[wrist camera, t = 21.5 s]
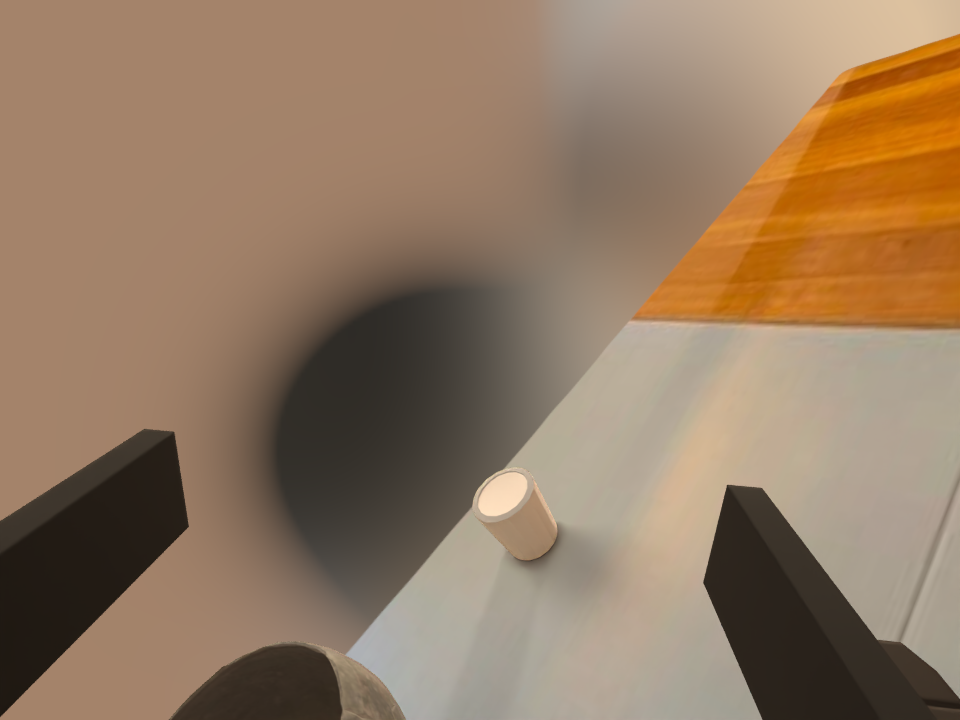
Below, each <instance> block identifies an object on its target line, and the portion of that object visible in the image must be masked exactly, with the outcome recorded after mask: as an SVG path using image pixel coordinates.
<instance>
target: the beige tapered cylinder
mask: <svg viewBox="0 0 960 720" xmlns="http://www.w3.org/2000/svg"><path fill="white" fill-rule="evenodd" d="M472 510H473V512H474V514H475V516H476V518H477V519H478V520H479V521H480V522H481V523H482V524H483V525H484V526H485V527H486V528H487V529H488V530H489V531H490V532H491V533H492V534H493V535H494V537H495V538H496V539H497V540H498V541H499V542H500V543H501V544H502V545H503V546H504V547H505V548H506V549H507V550H508V551H509V552H510V553H511V554H512V555H513V556H514V557H516V558H517V559H519V560H527V561H529V560H533V559H536V558H539V557H540V556H542V555H543V554H545V553H546V552H547V551H548V550H549V549H550V548H551V547H552V545H553V544H554V543H555V540H556V537H557V534H558V532H557V524H556V522H555V520H554V518H553V516H552V514H551V512H550V510H549V508H548V506H547V504H546V502H545V500H544V498H543V496H542V494H541V492H540V490H539V488H538V486H537V484H536V482H535V480H534V478H533V477H532V475H531V474H530V473H529V471H527V470H525V469H522V468H520V467H517V468H507V469H504V470H502V471H499V472H497V473H495V474H494V475H493V476H491V477H490V478H488V479H487V480H486V481H485V482H484V483H483V484H482V485H481V486H480V488H479V489H478V491H477V493H476V495H475V497H474V499H473V508H472Z"/></svg>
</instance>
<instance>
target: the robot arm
mask: <svg viewBox="0 0 960 720" xmlns="http://www.w3.org/2000/svg"><path fill="white" fill-rule="evenodd" d="M188 527H189V525H188V519H187V512H186V506H185V499H184V492H183V486H182V479H181V473H180V466H179V460H178V453H177V447H176V440H175V434H174V432H170V431H160V430H149V429H144V430H142V431H141V432H139V433H137V434H136V435H134V436H133V437H131V438H130V439H128V440H126V441H125V442H123V443H122V444H120V445H119V446H117V447H115V448H114V449H112V450H111V451H109V452H108V453H106V454H105V455H103V456H101V457H100V458H99V459H97V460H95V461H94V462H92V463H90V464H89V465H87V466H86V467H84V468H83V469H81V470H80V471H78V472H76V473H75V474H73V475H72V476H70V477H69V478H67V479H65V480H64V481H62V482H61V483H59V484H58V485H56V486H55V487H53V488H51V489H50V490H48V491H47V492H45V493H44V494H42V495H41V496H39V497H37V498H36V499H34V500H33V501H31V502H29V503H28V504H26V505H25V506H23V507H22V508H20V509H19V510H17V511H15V512H14V513H12V514H11V515H10V516H8V517H6V518H4V519H3V520H1V521H0V717H1V715H3V714H4V713H5V712H6V711H7V710H8V708H9V707H11V706H12V705H13V704H14V703H15V701H16V700H17V699H18V698H19V697H20V696H21V695H22V694H23V693H24V692H25V691H26V690H27V689H28V688H29V687H30V686H31V685H32V684H33V683H34V682H35V681H36V680H37V679H38V678H39V677H40V676H41V675H42V674H43V673H44V672H45V671H46V670H47V669H48V668H49V667H50V666H51V665H52V664H53V663H54V662H55V661H56V660H57V659H58V658H59V657H60V656H61V655H62V654H63V653H64V652H65V651H66V650H67V649H68V648H69V647H70V646H71V645H72V644H73V643H74V642H75V641H76V640H77V639H78V638H79V637H80V636H81V635H82V634H83V633H84V632H85V631H86V630H87V629H88V628H89V627H90V626H91V625H92V624H93V623H94V622H95V621H96V620H97V619H98V618H99V617H100V616H101V615H102V614H103V613H104V612H105V611H106V610H107V609H108V608H109V607H110V606H111V605H112V604H113V603H114V602H115V600H116V599H117V598H119V597H120V595H121V594H122V593H124V591H126V589H127V588H128V587H129V586H130V585H131V584H132V583H133V582H134V581H135V580H136V579H137V578H138V577H139V576H140V575H141V574H142V573H143V572H144V571H145V570H146V569H147V568H148V567H149V566H150V565H151V564H152V563H153V562H154V561H155V560H156V559H157V558H158V557H159V556H160V555H161V554H162V553H163V552H164V551H165V550H166V549H167V548H168V547H169V546H170V545H171V544H172V543H173V542H174V541H175V540H176V539H177V538H178V537H179V536H180V535H181V534H182V533H183V532H184V531H185V530H186V529H187V528H188ZM703 583H704V585H705V588H706V590H707V592H708V594H709V597H710V599H711V601H712V604H713V606H714V608H715V611H716V613H717V615H718V618H719V620H720V622H721V625H722V627H723V629H724V631H725V634H726V636H727V638H728V641H729V643H730V645H731V648H732V650H733V652H734V655H735V657H736V659H737V662H738V664H739V666H740V668H741V671H742V673H743V675H744V678H745V680H746V682H747V685H748V687H749V689H750V692H751V694H752V696H753V699H754V701H755V703H756V705H757V708H758V710H759V712H760V715H761V717H762V719H763V720H960V699H959V698H958V696H957V695H956V694H955V693H954V692H953V690H952V689H951V688H950V687H949V686H948V684H947V683H946V682H945V681H944V680H943V678H942V677H941V676H940V675H939V674H938V672H937V671H936V670H934V669H933V668H932V667H931V666H929V665H928V664H927V663H926V662H924V661H923V660H922V659H921V658H920V657H918V656H917V655H916V654H915V653H913V652H912V651H911V650H910V649H908V648H907V647H906V646H905V645H903V644H902V643H901V642H892V641H883V640H877V639H876V638H875V637H874V635H873V634H872V633H871V631H870V630H869V629H868V627H867V626H866V625H865V623H864V622H863V621H862V619H861V618H860V617H859V615H858V614H857V613H856V611H855V610H854V609H853V607H852V606H851V605H850V604H849V602H848V601H847V600H846V598H845V597H844V596H843V594H842V593H841V592H840V590H839V589H838V588H837V586H836V585H835V584H834V582H833V581H832V580H831V578H830V577H829V576H828V574H827V573H826V572H825V571H824V569H823V568H822V567H821V565H820V564H819V563H818V561H817V560H816V559H815V557H814V556H813V555H812V553H811V552H810V551H809V549H808V548H807V547H806V545H805V544H804V543H803V542H802V540H801V539H800V538H799V536H798V535H797V534H796V532H795V531H794V530H793V528H792V527H791V526H790V524H789V523H788V522H787V520H786V519H785V518H784V516H783V515H782V514H781V512H780V511H779V510H778V509H777V507H776V506H775V505H774V503H773V502H772V501H771V499H770V498H769V497H768V495H767V494H766V493H765V491H764V490H763V489H762V488H755V487H745V486H735V485H727V488H726V492H725V496H724V500H723V504H722V508H721V512H720V516H719V520H718V524H717V529H716V533H715V537H714V541H713V545H712V549H711V553H710V557H709V561H708V565H707V569H706V574H705V578H704V582H703Z"/></svg>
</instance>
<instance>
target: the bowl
mask: <svg viewBox="0 0 960 720" xmlns="http://www.w3.org/2000/svg"><path fill="white" fill-rule="evenodd" d="M169 720H406V719H405V717H404V715H403V713H402V711H401V709H400V707H399V705H398V704H397V702H396V701H395V699H394V698H393V696H392V695H391V693H390V692H389V690H388V689H387V687H386V686H385V685H384V684H383V682H382V681H381V680H380V679H379V678H378V677H377V676H376V675H375V674H373V673H372V672H371V671H369V670H368V669H367V668H365V667H364V666H363V665H362V664H360V663H358V662H357V661H355V660H353V659H351V658H349V657H347V656H345V655H343V654H341V653H339V652H337V651H335V650H333V649H330V648H327V647H323V646H320V645H316V644H312V643H307V642H281V643H275V644H272V645H269V646H265V647H262V648H259V649H257V650H255V651H252V652H250V653H248V654H246V655H244V656H242V657H240V658H238V659H236V660H235V661H233V662H231V663H230V664H229V665H226V666H224V667H222V668H221V669H220V670H219V671H218V672H216V673H215V674H214V675H213V676H212V677H211V678H210V679H209V680H207V681H206V682H205V683H204V684H203V685H202V686H201V687H200V688H199V689H197V690H196V691H195V692H194V693H193V694H192V695H191V696H190V697H189V698H188V699H187V700H186V701H185V702H184V703H183V704H182V705H181V706H180V708H179V709H178V710H177V711H176V712H175V713H174V714H173V716H172V717H171V718H170V719H169Z"/></svg>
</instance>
